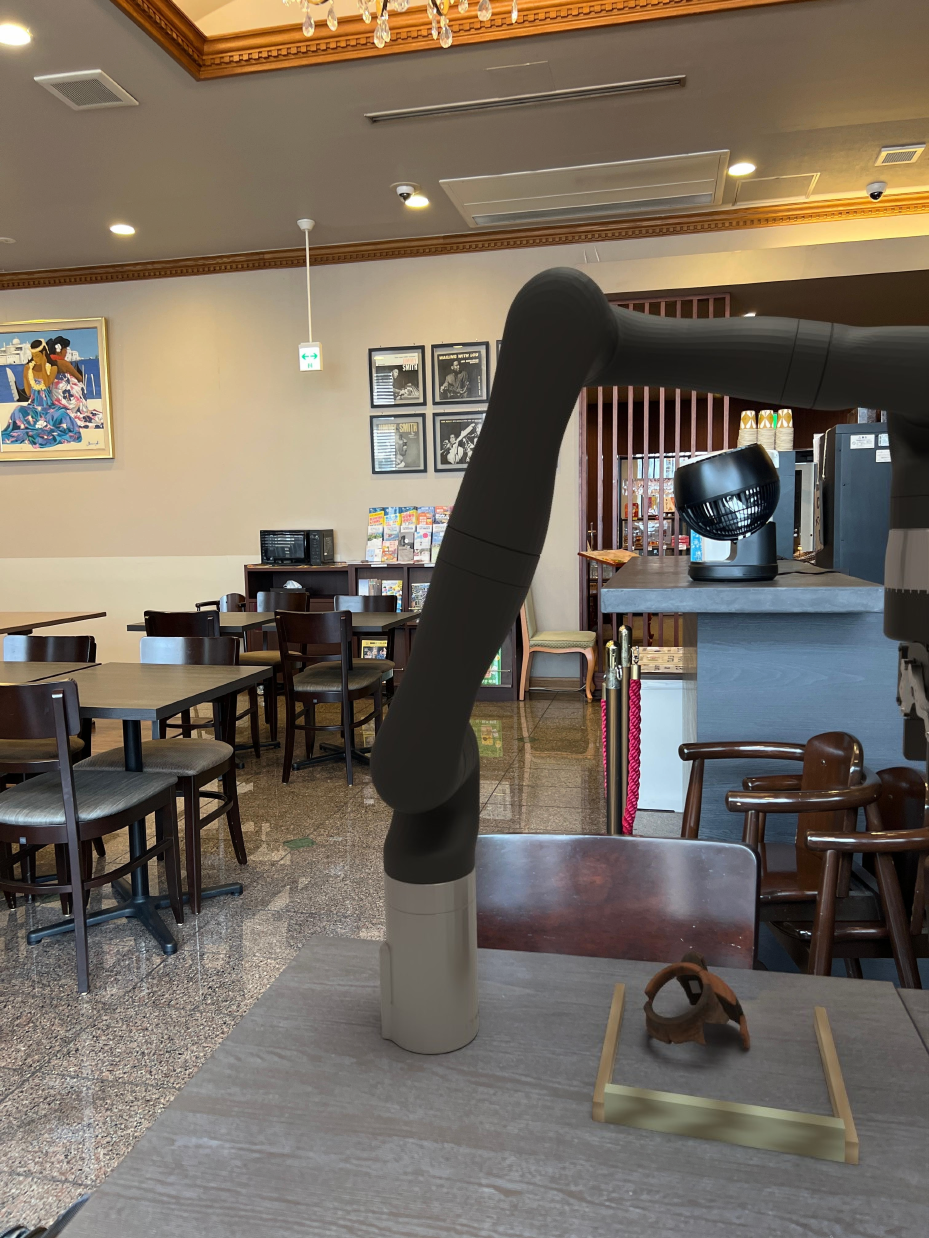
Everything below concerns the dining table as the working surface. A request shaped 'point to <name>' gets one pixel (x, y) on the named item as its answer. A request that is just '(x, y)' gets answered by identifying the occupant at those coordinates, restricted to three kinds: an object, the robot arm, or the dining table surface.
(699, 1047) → the dining table surface
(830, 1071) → the bay
